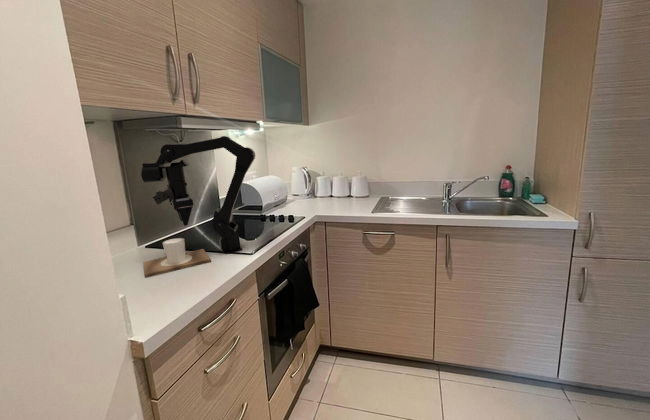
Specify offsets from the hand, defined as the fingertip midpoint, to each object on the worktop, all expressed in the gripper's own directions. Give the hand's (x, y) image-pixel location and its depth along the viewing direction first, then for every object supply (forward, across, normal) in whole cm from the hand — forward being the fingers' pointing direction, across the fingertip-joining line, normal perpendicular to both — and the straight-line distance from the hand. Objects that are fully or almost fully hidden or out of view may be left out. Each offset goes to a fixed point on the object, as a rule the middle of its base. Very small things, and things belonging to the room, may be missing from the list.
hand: (183, 223), depth 118 cm
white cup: (+11, +7, -5) cm, 14 cm away
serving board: (+12, +7, -5) cm, 15 cm away
